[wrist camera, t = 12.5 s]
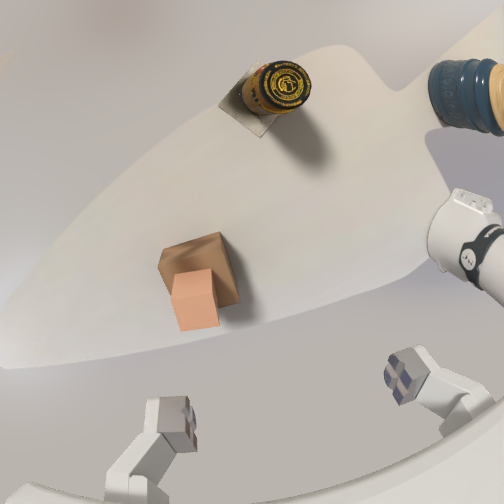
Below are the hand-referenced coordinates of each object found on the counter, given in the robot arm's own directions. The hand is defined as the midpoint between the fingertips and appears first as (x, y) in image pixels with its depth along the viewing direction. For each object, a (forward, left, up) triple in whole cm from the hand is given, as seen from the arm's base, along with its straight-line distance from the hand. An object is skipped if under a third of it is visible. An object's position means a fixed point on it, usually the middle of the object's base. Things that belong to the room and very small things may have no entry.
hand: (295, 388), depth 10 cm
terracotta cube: (+6, +12, -27) cm, 30 cm away
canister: (-41, -16, -33) cm, 55 cm away
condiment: (-5, -12, -33) cm, 36 cm away
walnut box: (+6, +12, -33) cm, 36 cm away
